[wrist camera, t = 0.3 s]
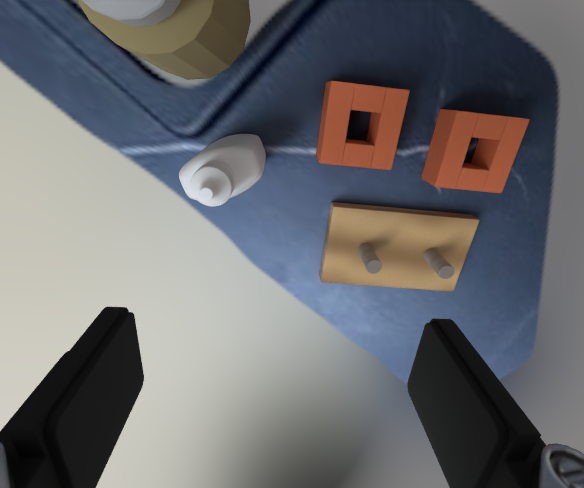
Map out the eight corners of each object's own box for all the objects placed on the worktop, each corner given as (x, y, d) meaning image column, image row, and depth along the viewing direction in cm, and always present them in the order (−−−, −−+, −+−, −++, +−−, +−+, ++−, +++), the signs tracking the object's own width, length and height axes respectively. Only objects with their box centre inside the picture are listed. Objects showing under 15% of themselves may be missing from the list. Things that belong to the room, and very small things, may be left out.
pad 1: (325, 81, 26) (331, 80, 24) (397, 90, 27) (410, 90, 24) (315, 156, 29) (319, 163, 26) (381, 163, 29) (391, 170, 27)
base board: (330, 201, 31) (340, 220, 26) (471, 214, 32) (503, 234, 27) (319, 274, 34) (325, 302, 30) (446, 283, 35) (471, 312, 31)
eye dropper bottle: (260, 185, 30) (250, 239, 19) (199, 173, 29) (152, 221, 18) (269, 137, 28) (264, 165, 17) (204, 122, 27) (155, 142, 17)
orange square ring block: (439, 108, 28) (457, 110, 25) (506, 116, 28) (530, 119, 25) (420, 178, 30) (434, 186, 27) (482, 184, 31) (501, 193, 28)
